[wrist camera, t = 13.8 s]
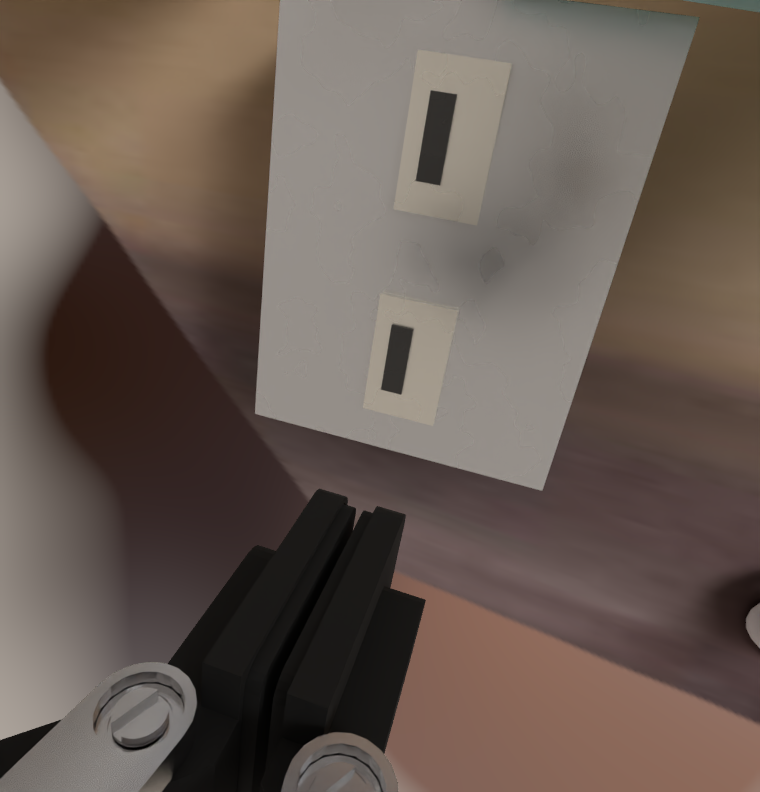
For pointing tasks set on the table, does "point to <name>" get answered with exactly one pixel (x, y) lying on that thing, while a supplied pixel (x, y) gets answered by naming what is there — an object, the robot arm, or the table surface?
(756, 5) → the swing bar
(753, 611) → the pacifier
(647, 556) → the table surface
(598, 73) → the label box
